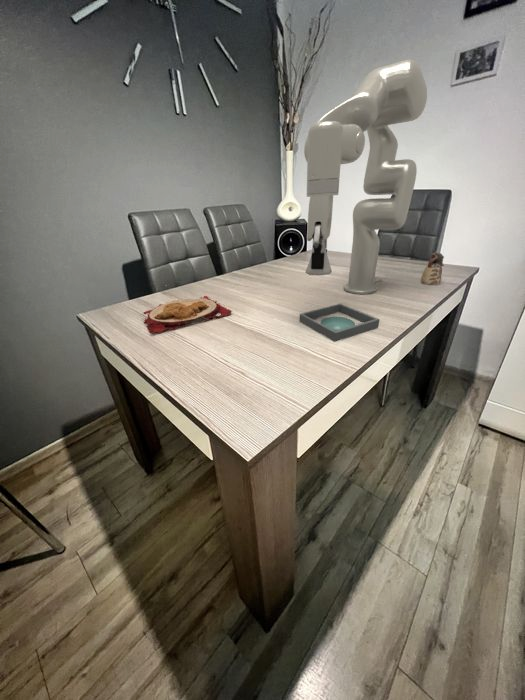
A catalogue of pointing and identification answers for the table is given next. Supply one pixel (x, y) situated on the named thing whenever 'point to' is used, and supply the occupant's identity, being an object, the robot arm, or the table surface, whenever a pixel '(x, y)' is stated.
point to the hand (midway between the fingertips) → (318, 265)
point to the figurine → (433, 270)
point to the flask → (324, 271)
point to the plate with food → (182, 313)
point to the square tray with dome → (338, 322)
